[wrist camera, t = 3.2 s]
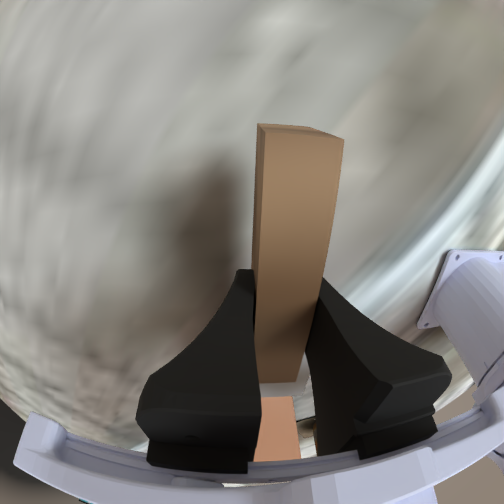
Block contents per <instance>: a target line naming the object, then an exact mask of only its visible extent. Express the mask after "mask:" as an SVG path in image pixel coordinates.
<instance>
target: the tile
mask: <svg viewBox="0 0 504 504" xmlns="http://www.w3.org/2000/svg"><path fill="white" fill-rule="evenodd" d="M261 405H262V418H261V424H260V430H259V436H258V442H257V448H256V449H255V455H254V461H253V462H264V461H282V460H294V459H301V454H300V447H299V440H298V433H297V426H296V419H295V412H294V405H293V398H292V396H285V397H261Z"/></svg>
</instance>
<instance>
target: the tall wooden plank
mask: <svg viewBox="0 0 504 504" xmlns="http://www.w3.org/2000/svg"><path fill="white" fill-rule="evenodd" d="M343 147H344V139H341V138H339V137H336V136H333V135H330V134H328V133H325V132H322V131H319V130H316V129H313V128H310V127H304V126H293V125H279V124H260V123H257V142H256V167H255V191H254V215H253V239H252V264H251V269H253V271H254V278H255V292H254V311H253V332H254V343H255V353H256V362H257V371H258V379H259V386H260V393H261V397H285V396H301V395H303V392H304V389H305V386H306V384H307V381H308V378H309V375H310V370H309V366H308V362H307V359H306V355H305V348H306V344H307V340H308V337H309V333H310V329H311V325H312V321H313V317H314V312H315V308H316V304H317V300H318V295H319V291H320V286H321V282H322V277H323V272H324V267H325V262H326V257H327V252H328V247H329V241H330V236H331V230H332V225H333V219H334V213H335V206H336V200H337V193H338V186H339V179H340V172H341V164H342V156H343Z"/></svg>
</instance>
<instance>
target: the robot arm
mask: <svg viewBox="0 0 504 504" xmlns="http://www.w3.org/2000/svg"><path fill="white" fill-rule="evenodd" d="M254 292H255V278H254V271H253V269H239V270H238V271H236V276H235V279H234V282H233V284H232V286H231V289H230V290H229V292H228V294H227V296H226V298H225V300H224V302H223V303H222V305H221V306H220V308H219V310H218V311H217V313H216V314H215V316H214V317H213V318H212V320H211V321H210V322H209V324H208V325H207V326H206V327H205V329H204V330H203V331H202V332H201V333H200V334H199V335H198V336H197V337H196V339H195V340H194V341H193V342H192V343H191V344H190V345H189V346H187V347H186V348H185V349H184V350H183V351H182V352H181V353H180V354H178V355H177V356H176V357H175V358H174V359H173V360H171V361H170V362H169V363H167V364H166V365H164V366H163V367H162V368H160V369H159V370H157V371H156V372H155V373H153V374H152V375H150V376H149V378H148V380H147V382H146V384H145V386H144V389H143V391H142V393H141V396H140V399H139V404H138V408H137V413H136V418H135V419H136V421H137V423H138V425H139V426H140V428H141V429H142V430H143V432H144V433H145V434H146V435H147V437H148V438H149V445H148V451H147V453H143V452H138V451H133V450H128V449H124V448H120V447H116V446H112V445H108V444H104V443H101V442H97V441H94V440H90V439H87V438H84V437H81V436H78V435H75V434H72V433H69V432H67V430H66V429H65V428H64V427H63V426H62V425H60V424H59V423H57V422H56V421H54V420H52V419H50V418H47V417H45V416H42V415H40V414H38V413H35V412H33V411H32V412H30V414H29V417H28V420H27V422H26V425H25V428H24V430H23V433H22V436H21V439H20V442H19V445H18V448H17V451H16V454H15V458H14V461H13V463H14V465H15V466H17V467H19V468H20V469H22V470H24V471H25V472H27V473H29V474H30V475H32V476H34V477H36V478H37V479H39V480H41V481H43V482H45V483H47V484H49V485H51V486H53V487H55V488H57V489H59V490H62V491H64V492H66V493H68V494H70V495H73V496H75V497H77V498H80V499H82V500H85V501H87V502H90V503H93V504H438V503H437V499H436V495H435V491H434V488H433V486H434V485H436V484H438V483H440V482H442V481H443V480H446V479H447V478H449V477H451V476H453V475H455V474H456V473H458V472H460V471H461V470H463V469H465V468H467V467H468V466H470V465H471V464H473V463H475V462H476V461H477V460H479V459H481V458H482V457H484V456H486V457H489V458H490V459H491V460H493V461H494V462H495V463H496V464H497V465H498V467H499V468H500V469H501V471H502V472H503V474H504V251H486V250H451V251H449V252H448V254H447V256H446V259H445V262H444V264H443V267H442V270H441V272H440V275H439V277H438V279H437V282H436V284H435V286H434V289H433V291H432V293H431V296H430V298H429V300H428V302H427V304H426V306H425V308H424V310H423V313H422V315H421V317H420V319H419V321H418V323H417V325H416V326H417V328H418V329H426V328H432V327H437V326H441V327H442V329H443V330H444V332H445V333H446V335H447V337H448V338H449V340H450V341H451V343H452V344H453V346H454V348H455V349H456V351H457V352H458V354H459V356H460V357H461V359H462V361H463V362H464V364H465V366H466V368H467V369H468V371H469V373H470V375H471V376H472V378H473V380H474V382H475V384H476V386H477V387H478V388H477V390H476V391H475V392H474V393H473V394H472V396H473V398H474V400H475V404H474V405H473V408H472V409H471V410H469V411H467V412H465V413H463V414H461V415H459V416H456V417H454V418H452V419H450V420H447V421H445V422H443V423H440V424H438V425H436V424H435V422H434V419H433V417H432V415H433V414H434V413H435V408H434V406H433V403H434V402H435V401H436V400H437V399H438V398H439V397H440V396H441V395H442V394H443V392H444V391H445V390H446V389H447V387H448V386H449V384H450V382H451V380H452V374H451V372H450V370H449V368H448V366H447V365H446V363H445V361H444V359H443V358H442V356H440V355H437V354H434V353H432V352H429V351H426V350H424V349H421V348H419V347H416V346H414V345H412V344H410V343H408V342H406V341H404V340H402V339H400V338H398V337H396V336H395V335H393V334H391V333H390V332H388V331H386V330H385V329H383V328H382V327H380V326H379V325H377V324H376V323H374V322H373V321H371V320H370V319H369V318H367V317H366V316H365V315H363V314H362V313H361V312H360V311H358V310H357V309H356V308H355V307H354V306H353V305H351V304H350V303H349V302H348V301H347V300H346V299H345V298H344V297H343V296H341V295H340V294H339V293H338V292H337V291H336V290H335V289H334V288H333V287H332V286H331V285H330V284H329V283H328V282H327V281H326V280H325V279H324V278H323V277H322V282H321V286H320V291H319V295H318V300H317V304H316V308H315V312H314V317H313V321H312V325H311V329H310V333H309V337H308V340H307V344H306V348H305V355H306V359H307V362H308V366H309V370H310V375H311V381H312V389H313V396H314V406H315V416H316V430H317V453H318V457H311V458H303V459H294V460H282V461H264V462H253V461H254V455H255V449H256V448H257V442H258V436H259V430H260V424H261V418H262V405H261V393H260V386H259V379H258V371H257V362H256V353H255V343H254V332H253V311H254ZM287 481H291V482H288V483H280V484H272V485H262V486H248V487H224V485H223V484H222V483H236V484H248V483H274V482H287Z"/></svg>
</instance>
